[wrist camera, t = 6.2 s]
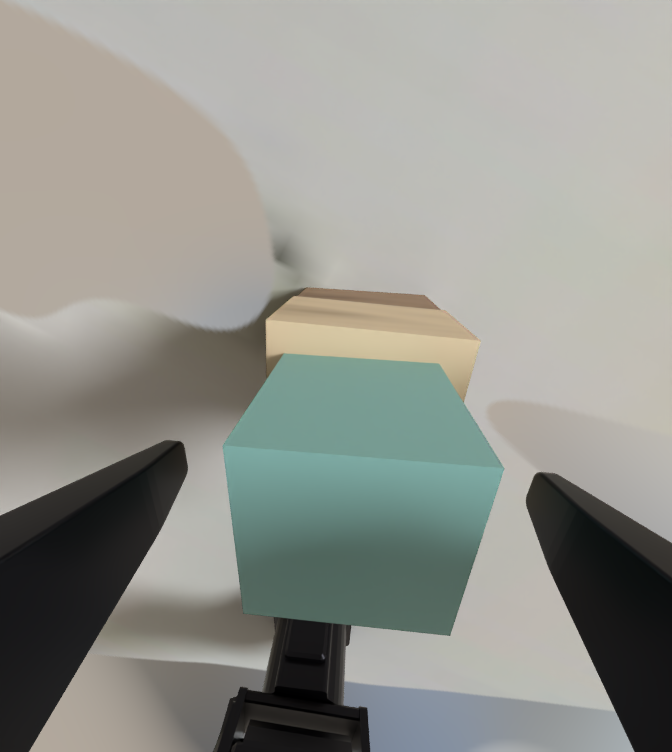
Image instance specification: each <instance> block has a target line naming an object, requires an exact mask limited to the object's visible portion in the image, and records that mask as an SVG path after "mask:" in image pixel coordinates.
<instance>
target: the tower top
mask: <svg viewBox="0 0 672 752" xmlns="http://www.w3.org/2000/svg"><path fill="white" fill-rule="evenodd" d="M480 342H481V341H480V340H479V339H478V338H477V337H476V336H475V335H473V334H472V333H471V332H470V331H469V330H468V329H466V328H465V327H464V326H463V325H462V324H461V323H459V322H458V321H457V320H456V319H455V318H454V317H452V316H451V315H450V314H449V313H448V312H447V311H445V310H435V309H425V308H414V307H404V306H393V305H383V304H372V303H362V302H352V301H341V300H331V299H320V298H310V297H299V296H293V297H292V298H291V299H289V300H288V301H287V302H286V303H285V304H284V305H282V306H281V307H280V308H279V309H278V310H277V311H275V312H274V313H273V314H272V315H271V316H270V317H268V318H267V319H266V380H267V378H268V377H269V375H270V374H271V372H272V371H273V369H274V368H275V366H276V365H277V363H278V362H279V360H280V359H281V357H282V356H283V354H284V353H287V354H302V355H317V356H332V357H347V358H363V359H378V360H393V361H408V362H423V363H438V364H440V366H441V367H442V369H443V370H444V372H445V374H446V375H447V377H448V378H449V380H450V382H451V383H452V385H453V387H454V388H455V390H456V391H457V393H458V395H459V396H460V398H461V399H462V401H463V403H464V399H465V396H466V392H467V388H468V385H469V381H470V378H471V374H472V370H473V367H474V363H475V360H476V356H477V353H478V349H479V345H480Z"/></svg>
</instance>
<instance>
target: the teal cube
mask: <svg viewBox="0 0 672 752" xmlns="http://www.w3.org/2000/svg"><path fill="white" fill-rule="evenodd" d="M223 452H224V461H225V469H226V477H227V485H228V493H229V501H230V509H231V517H232V525H233V534H234V542H235V550H236V558H237V566H238V574H239V582H240V590H241V598H242V607H243V614H252V615H261V616H270V617H280V618H289V619H298V620H308V621H317V622H326V623H336V624H345V625H354V626H363V627H373V628H382V629H391V630H401V631H410V632H419V633H429V634H438V635H447V636H450V634H451V631H452V628H453V625H454V622H455V619H456V616H457V613H458V609H459V606H460V603H461V600H462V597H463V594H464V591H465V588H466V585H467V582H468V579H469V576H470V573H471V569H472V566H473V563H474V560H475V557H476V554H477V551H478V548H479V545H480V542H481V539H482V536H483V532H484V529H485V526H486V523H487V520H488V517H489V514H490V511H491V508H492V505H493V502H494V499H495V496H496V492H497V489H498V486H499V483H500V480H501V477H502V474H503V471H504V467H503V466H502V464H501V462H500V461H499V459H498V457H497V456H496V454H495V453H494V451H493V449H492V448H491V446H490V445H489V443H488V441H487V440H486V438H485V437H484V435H483V433H482V432H481V430H480V428H479V427H478V425H477V424H476V422H475V420H474V419H473V417H472V416H471V414H470V412H469V411H468V409H467V407H466V406H465V404H464V403H463V401H462V399H461V398H460V396H459V395H458V393H457V391H456V390H455V388H454V387H453V385H452V383H451V382H450V380H449V378H448V377H447V375H446V374H445V372H444V370H443V369H442V367H441V366H440V364H438V363H423V362H408V361H393V360H378V359H363V358H347V357H332V356H317V355H302V354H287V353H284V354H283V356H282V357H281V359H280V360H279V362H278V363H277V365H276V366H275V368H274V369H273V371H272V372H271V374H270V375H269V377H268V378H267V380H266V381H265V383H264V384H263V386H262V387H261V389H260V390H259V392H258V393H257V395H256V396H255V398H254V399H253V401H252V402H251V404H250V405H249V407H248V408H247V410H246V411H245V413H244V414H243V416H242V417H241V419H240V420H239V422H238V423H237V425H236V426H235V428H234V429H233V431H232V432H231V434H230V435H229V437H228V438H227V440H226V441H225V443H224V444H223Z"/></svg>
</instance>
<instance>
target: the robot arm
mask: <svg viewBox="0 0 672 752" xmlns="http://www.w3.org/2000/svg"><path fill="white" fill-rule="evenodd" d="M187 471H188V465H187V459H186V453H185V448H184V444H183V443H182V442H180V441H172V440H166V441H163V442H161V443H158V444H156V445H154V446H152V447H150V448H148V449H145V450H143V451H141V452H139V453H137V454H134V455H132V456H130V457H128V458H126V459H123V460H121V461H119V462H117V463H115V464H112V465H110V466H108V467H106V468H104V469H101V470H99V471H97V472H95V473H93V474H91V475H88V476H86V477H84V478H82V479H80V480H77V481H75V482H73V483H71V484H69V485H66V486H64V487H62V488H60V489H58V490H55V491H53V492H51V493H49V494H47V495H44V496H42V497H40V498H38V499H36V500H34V501H31V502H29V503H27V504H25V505H23V506H20V507H18V508H16V509H14V510H12V511H9V512H7V513H5V514H3V515H1V516H0V752H29V751H30V749H31V747H32V745H33V744H34V742H35V740H36V739H37V737H38V735H39V734H40V732H41V730H42V728H43V727H44V725H45V723H46V722H47V720H48V719H49V717H50V715H51V713H52V712H53V710H54V709H55V707H56V705H57V704H58V702H59V700H60V698H61V697H62V695H63V693H64V692H65V690H66V688H67V687H68V685H69V683H70V682H71V680H72V678H73V677H74V675H75V673H76V672H77V670H78V668H79V666H80V665H81V663H82V662H83V660H84V658H85V657H86V655H87V653H88V651H89V650H90V648H91V646H92V645H93V643H94V641H95V640H96V638H97V636H98V635H99V633H100V631H101V630H102V628H103V626H104V625H105V623H106V621H107V620H108V618H109V616H110V615H111V613H112V611H113V610H114V608H115V606H116V604H117V603H118V601H119V599H120V598H121V596H122V594H123V593H124V591H125V589H126V588H127V586H128V584H129V583H130V581H131V579H132V578H133V576H134V574H135V573H136V571H137V569H138V568H139V566H140V564H141V562H142V561H143V559H144V557H145V556H146V554H147V552H148V551H149V549H150V547H151V546H152V544H153V542H154V541H155V539H156V537H157V535H158V534H159V532H160V530H161V528H162V526H163V524H164V522H165V520H166V518H167V516H168V514H169V512H170V509H171V507H172V505H173V503H174V501H175V499H176V497H177V495H178V492H179V490H180V488H181V486H182V484H183V482H184V480H185V477H186V475H187ZM526 506H527V509H528V512H529V515H530V518H531V520H532V523H533V526H534V529H535V532H536V534H537V537H538V540H539V543H540V546H541V548H542V551H543V554H544V557H545V559H546V562H547V565H548V567H549V570H550V572H551V574H552V576H553V579H554V581H555V583H556V585H557V587H558V589H559V592H560V594H561V596H562V598H563V600H564V602H565V604H566V606H567V609H568V611H569V613H570V615H571V617H572V619H573V621H574V624H575V626H576V628H577V630H578V632H579V634H580V636H581V638H582V641H583V643H584V645H585V647H586V649H587V651H588V653H589V656H590V658H591V660H592V662H593V664H594V666H595V668H596V670H597V673H598V675H599V677H600V679H601V681H602V683H603V685H604V688H605V690H606V692H607V694H608V696H609V698H610V700H611V702H612V705H613V707H614V709H615V711H616V713H617V715H618V717H619V720H620V722H621V724H622V726H623V728H624V730H625V732H626V734H627V737H628V739H629V741H630V743H631V745H632V747H633V749H634V751H635V752H672V543H671V542H669V541H667V540H666V539H664V538H662V537H660V536H659V535H657V534H656V533H654V532H652V531H650V530H649V529H647V528H646V527H644V526H642V525H641V524H639V523H637V522H636V521H634V520H633V519H631V518H629V517H628V516H626V515H624V514H623V513H621V512H619V511H617V510H616V509H614V508H613V507H611V506H609V505H607V504H606V503H604V502H603V501H601V500H599V499H597V498H596V497H594V496H592V495H591V494H589V493H588V492H586V491H584V490H583V489H581V488H579V487H578V486H576V485H574V484H572V483H571V482H569V481H568V480H566V479H564V478H563V477H561V476H559V475H557V474H555V473H546V472H538V473H536V474H535V476H534V478H533V480H532V483H531V486H530V488H529V491H528V494H527V497H526ZM274 623H275V635H274V639H273V644H272V648H271V653H270V657H269V662H268V666H267V671H266V676H265V680H264V685H263V690H262V692H258V691H251V690H248V688H246V687H240V689H239V692H238V695H237V697H234V698H231V699H230V701H229V704H228V708H227V712H226V715H225V719H224V722H223V725H222V729H221V732H220V735H219V737H218V740H217V743H216V745H215V748H214V751H213V752H370V743H369V728H368V712H367V708H366V707H361V706H360V707H359V708H355V707H349V706H343V700H344V675H345V649H346V646H348V645H349V641H350V632H351V625H345V624H336V623H326V622H317V621H308V620H298V619H289V618H280V617H274ZM244 733H245V737H244V739H243V735H244Z"/></svg>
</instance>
